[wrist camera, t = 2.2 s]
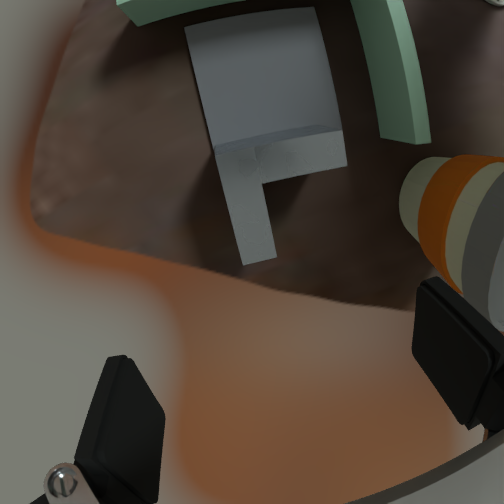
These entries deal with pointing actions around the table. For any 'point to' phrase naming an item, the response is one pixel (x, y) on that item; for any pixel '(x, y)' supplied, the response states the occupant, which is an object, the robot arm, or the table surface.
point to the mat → (262, 74)
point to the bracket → (270, 177)
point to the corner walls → (376, 52)
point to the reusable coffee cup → (461, 225)
